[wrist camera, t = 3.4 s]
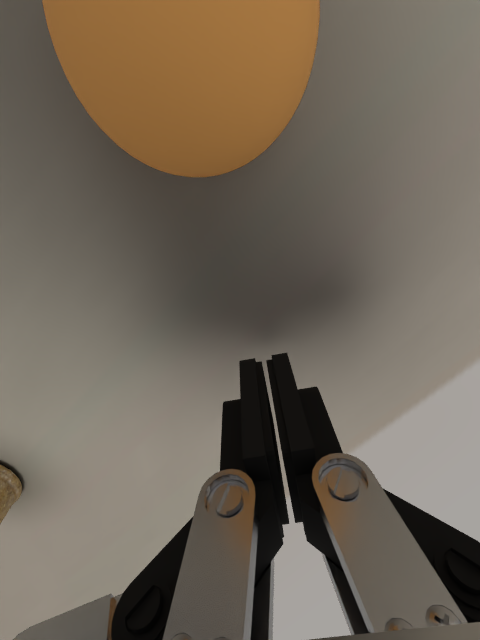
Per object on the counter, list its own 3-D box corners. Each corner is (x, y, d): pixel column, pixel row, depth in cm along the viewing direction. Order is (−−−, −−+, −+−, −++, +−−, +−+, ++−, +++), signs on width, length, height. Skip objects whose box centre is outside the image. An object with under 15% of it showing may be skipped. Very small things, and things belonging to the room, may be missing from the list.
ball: (70, -37, 9) (-177, -343, 3) (279, -92, 8) (367, -529, 3) (142, 188, 11) (69, 213, 6) (300, 154, 11) (366, 149, 6)
